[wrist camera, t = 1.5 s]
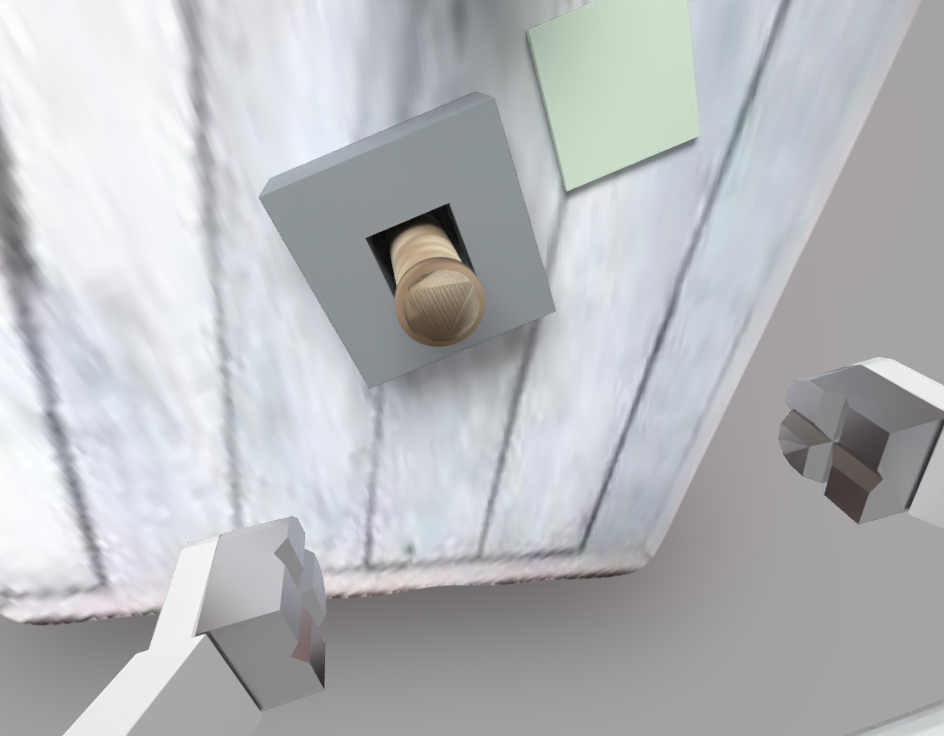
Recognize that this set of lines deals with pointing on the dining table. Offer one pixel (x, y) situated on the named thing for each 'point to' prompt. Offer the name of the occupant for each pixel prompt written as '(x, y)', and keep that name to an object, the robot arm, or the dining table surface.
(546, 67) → the mat
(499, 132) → the socket
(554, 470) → the dining table surface
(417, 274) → the plug
